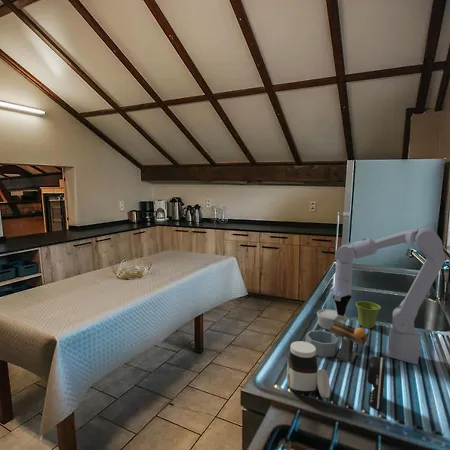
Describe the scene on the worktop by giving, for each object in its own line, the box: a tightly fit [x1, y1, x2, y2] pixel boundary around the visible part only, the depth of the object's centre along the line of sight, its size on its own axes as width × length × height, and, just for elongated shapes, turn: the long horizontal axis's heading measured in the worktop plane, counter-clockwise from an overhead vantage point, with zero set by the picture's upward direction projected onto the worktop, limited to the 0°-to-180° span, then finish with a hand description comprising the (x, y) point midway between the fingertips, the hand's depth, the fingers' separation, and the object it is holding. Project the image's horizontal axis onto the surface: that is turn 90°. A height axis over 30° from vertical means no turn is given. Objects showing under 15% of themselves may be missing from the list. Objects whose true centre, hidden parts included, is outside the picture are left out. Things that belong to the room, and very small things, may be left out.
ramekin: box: [316, 308, 345, 331], centre depth 132 cm, size 11×11×5 cm
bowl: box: [304, 329, 340, 358], centre depth 112 cm, size 10×10×4 cm
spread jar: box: [286, 340, 331, 399], centre depth 89 cm, size 12×11×12 cm
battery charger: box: [366, 355, 386, 410], centre depth 85 cm, size 7×4×11 cm, turn 152°
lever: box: [329, 314, 370, 347], centre depth 112 cm, size 12×16×3 cm
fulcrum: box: [335, 335, 358, 364], centre depth 108 cm, size 5×8×8 cm, turn 146°
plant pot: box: [355, 300, 382, 329], centre depth 134 cm, size 9×9×9 cm
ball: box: [353, 327, 367, 339], centre depth 105 cm, size 4×4×4 cm
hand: (340, 314), depth 118 cm, fingers closed
